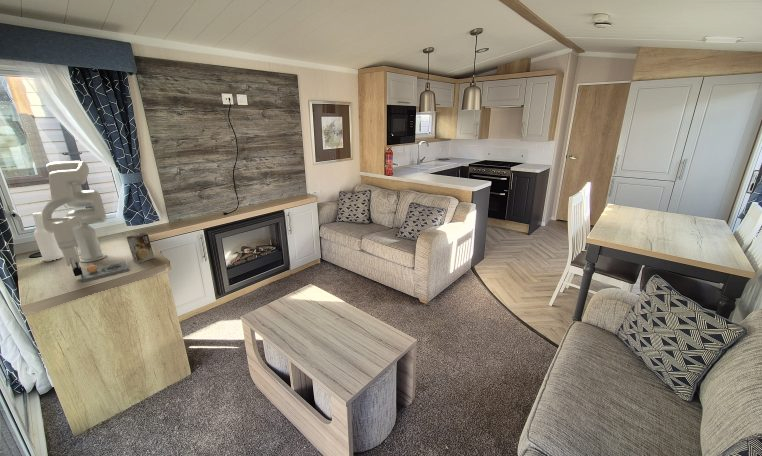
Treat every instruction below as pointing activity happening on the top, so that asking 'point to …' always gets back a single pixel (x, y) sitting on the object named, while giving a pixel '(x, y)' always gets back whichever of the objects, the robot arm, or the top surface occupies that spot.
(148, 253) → the coffee box
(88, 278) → the deck
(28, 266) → the top surface
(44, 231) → the alcohol
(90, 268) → the ball
